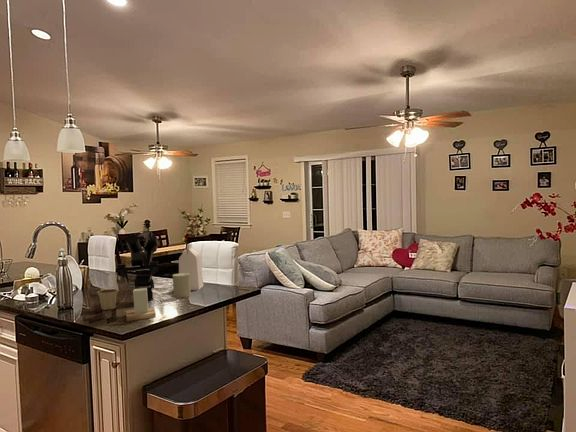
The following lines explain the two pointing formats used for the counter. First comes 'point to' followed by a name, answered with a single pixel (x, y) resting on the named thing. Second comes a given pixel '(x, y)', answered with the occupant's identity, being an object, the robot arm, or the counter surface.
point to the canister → (140, 300)
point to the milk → (192, 267)
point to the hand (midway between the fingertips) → (138, 282)
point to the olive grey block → (181, 285)
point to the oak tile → (140, 314)
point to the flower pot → (108, 298)
